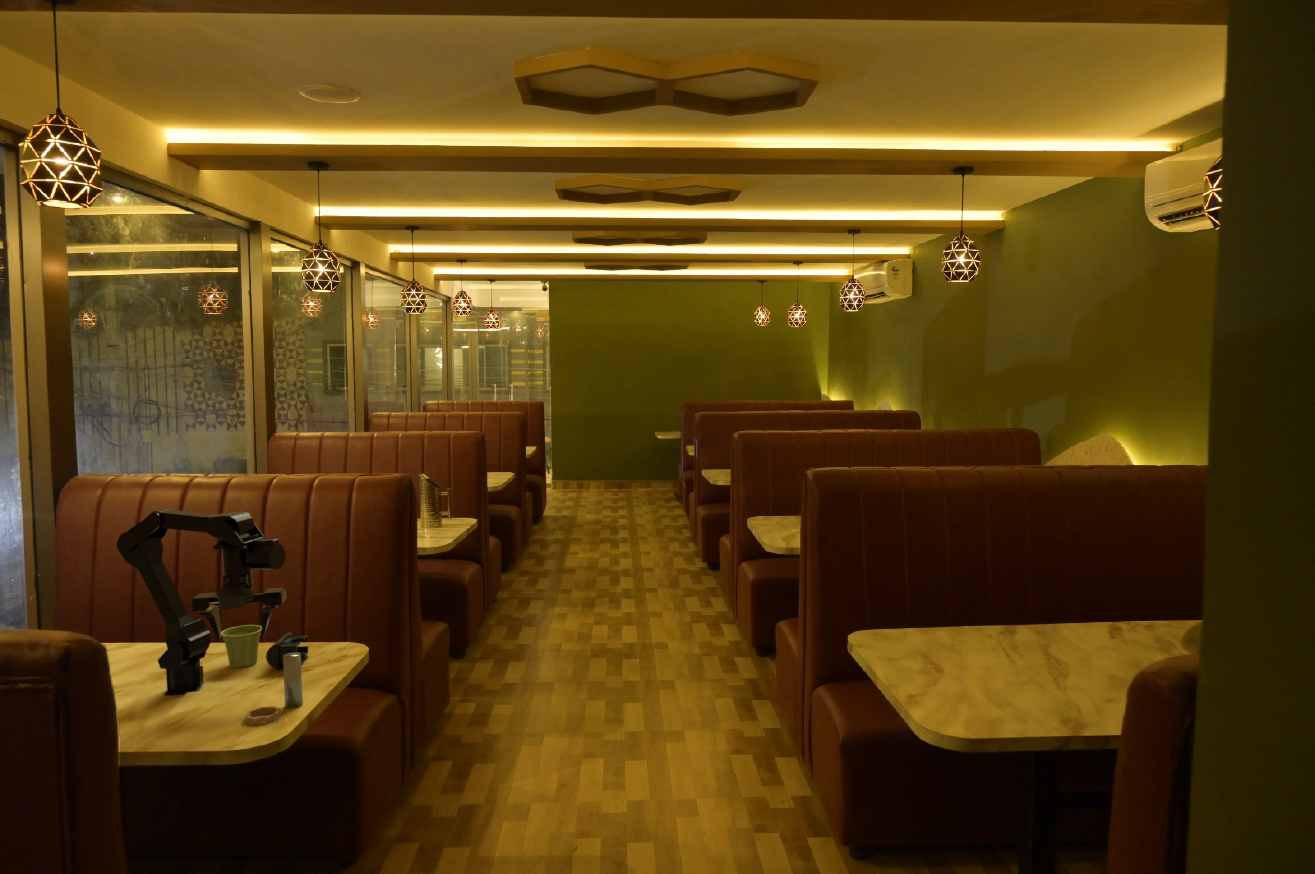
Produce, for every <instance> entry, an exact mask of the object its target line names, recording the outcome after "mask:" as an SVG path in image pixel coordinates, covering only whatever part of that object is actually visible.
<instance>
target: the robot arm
mask: <svg viewBox="0 0 1315 874" xmlns="http://www.w3.org/2000/svg"><path fill="white" fill-rule="evenodd" d="M170 530H178V531H184V532H185V531H187V532H196V533H204V534H208V535H210V536H211V537H212V538H214V539H217V540H219V541H218V542H216V544H215V545H214V546H213V547H212V549H213V550H215V551H220V550H221V552H222V569H223V570H222V571H223V576H222V584H221V588H220V589H219V592H218V593H216V592H205V593H204V592H203V593H198V594H197V595H195V597H193V598H192V599H191V600H190V603H189V608H190V612H192V613H195V612H196V614H197V615H199V616H200V615H201V616H203V617H204V618H206V620H207V621H208V622H209V624H210V625H211V626H210V627H211V628H212V630H213V632H214V635H215V637H216V638H217V640H221V638H222V636H221V632H222V628H221V627H222V626H221V616H220V611H226V610H230V609H231V610H232V609H235V610H240V609H242V608H244V606H245V604H247V603H249V604H250V603H262V604H263V605H262V607H261V613H262V617H261V626H262V631H261V635H262V636H265V635H266V633H267V629H268V625H269V623H270V619H271V616H272V614H273V611H274V610H275V609H277V608H278V607H279V606H280V605H283V604H284V602H286V600H287V590H286V589H285V588H284V587H273V588H272V587H270V588H267V589H266V590H265V591H264V592H261V593H260V592H259V593H255V591H256V590H255V587H254V585H253V583H254V582H253V574H254V571H253V570H272V571H273V570H274V571H276V570H280V569H282V567H283V566H284V565H285V562H286V558H287V552H286V550H285V548H284V546H283V545H282V544H281V543H280V539H279V538H271V539H269V538H268V539H267V538H266V536H265V534H264V533H263V532H262V531H261V529H260V528H259V527H258V525H257V524H256V523H255V521H254V519H253V517H252V515H251V513H249V512H247V511H235V512H234V511H233V512H225V513H217V514H213V513H203V512H194V511H193V512H192V511H184V510H174V509H171V508H163V509H158V510H153V511H152V512H150V513H149V514H148V515H147V516H146V517H145V518H144V519H142V520H141V521H139V522H138V523H137V524H135V525H134V526H132V527H131V528H129V529H128V530H127V531H126V532H123V533H121V534H120V535H119V536H118V539H117V542H116V545H115V546H116V549H117V551H118V553H119V554H120V555H121V557H122V558H123V560H124V561H125V562H126V563H127V564H129V565H130V566H131V567H133V568H134V569H136V570H137V571H138V572H139V575H140V576H141V578H142V581H143V583H144V584H145V586H146V588H147V590H148V592H149V594H150V596H151V599H152V600H153V602H154V604H155V606H156V608H157V610H158V612H159V615H160V616H161V618H162V620H163V622H164V624H165V637H164V638H165V639H164V642H165V644H166V648H167V649H166V650H165V652H163V653H162V654H161V656H160V657H158V659H157V662H158V666H159V668H160V669H161V670H162V669H163V670H165V674H166V676H165V677H166V690H165V691H164V692H163V693H164V695H165V696H169V695H179V694H187V693H195V692H197V691H198V690H199V689H200V688H201V687H202V686H203V684H204V667H203V665H201V660H202V659H204V658H205V657H206V654H207V650H208V649H209V648H210V644H211V643H212V639H211V636H210V635H211V634H212V632H211V631H210V630H209V629H208V627H207V625H206V622H205V620H204V619H203V618H200V619H197V620H196V619H195V618H194V617H192V616H191V615H190V614H189V612H188V610H187V609H186V606H185V604H184V601H183V600H182V598H181V595H180V594H179V592H178V590H177V588H176V586H175V584H174V582H173V580H172V578H171V575H170V574H169V572H168V570H167V567H166V565H165V564H164V561H163V557H164V556H163V555H164V545H163V541H162V540H163V539H164V538H165V537H166V536H167V535H168V534H169V531H170Z"/></svg>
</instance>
